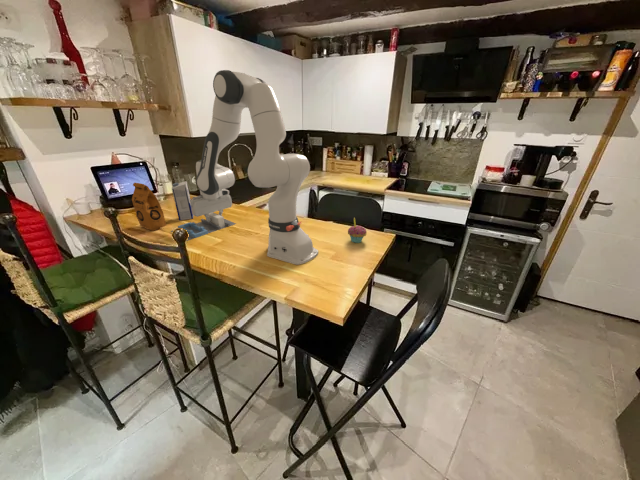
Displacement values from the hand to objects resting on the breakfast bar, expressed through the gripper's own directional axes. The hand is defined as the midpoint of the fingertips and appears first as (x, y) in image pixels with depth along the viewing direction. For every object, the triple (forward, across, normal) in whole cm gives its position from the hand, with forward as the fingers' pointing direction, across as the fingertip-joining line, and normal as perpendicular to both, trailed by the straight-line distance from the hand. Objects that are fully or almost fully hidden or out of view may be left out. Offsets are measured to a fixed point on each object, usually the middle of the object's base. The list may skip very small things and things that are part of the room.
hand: (214, 219), depth 133 cm
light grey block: (+2, 0, 0) cm, 2 cm away
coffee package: (+4, -21, +22) cm, 31 cm away
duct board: (+3, -6, 0) cm, 7 cm away
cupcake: (+4, +32, -65) cm, 73 cm away
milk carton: (+4, -5, +20) cm, 21 cm away
